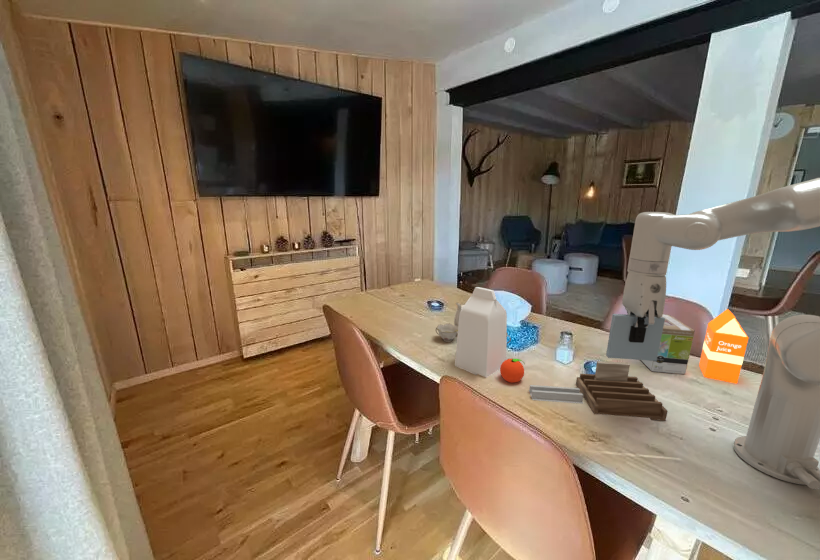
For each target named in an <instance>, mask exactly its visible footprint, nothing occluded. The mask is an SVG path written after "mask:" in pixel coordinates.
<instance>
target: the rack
mask: <svg viewBox="0 0 820 560" xmlns="http://www.w3.org/2000/svg"><path fill="white" fill-rule="evenodd" d="M630 366H631V365H630V363H629V362H623V361H622V362H621V361H617V362H616V361H605V360H604V361H603V360H602V361H601V360H600V361H599V360H596V366H595V373H579V377H578V376H577V377H576V379H575V380H576V381H575V385H576V386H577V387H576V388H579V389H580V393H582V394H583V399H584V400H585V401H586V403H587V405H588V406H589V408H590V409H591V411H592V412H593V414H594V415H595V414H596V415H609V416H622V417H634V418H636V417H637V418H649V419H650V420H651V421H662V422H663V421H664V422H665V421H666V420H667V416H668V410H667V409H666V407H664V406H663V403H662V402H661V401H660V400H658V399H657V398H656V395H655V394H652V393H651V391H650V389H649V388H648V387H647V388H646V387H645V386H644V383H643V382H640V381H639V380H638V377H637V376H629V371H630Z"/></svg>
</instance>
